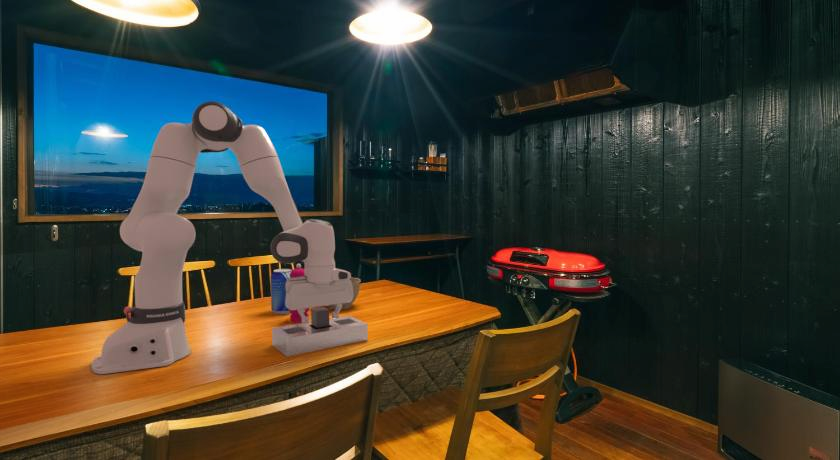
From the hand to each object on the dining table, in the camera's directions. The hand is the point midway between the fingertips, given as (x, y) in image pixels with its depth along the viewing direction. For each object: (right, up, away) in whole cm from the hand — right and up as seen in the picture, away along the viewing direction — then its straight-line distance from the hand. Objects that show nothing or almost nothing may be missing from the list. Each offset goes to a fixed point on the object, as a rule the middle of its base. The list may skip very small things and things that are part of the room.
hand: (320, 320), depth 134 cm
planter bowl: (-2, -4, +44) cm, 45 cm away
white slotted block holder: (0, -7, 0) cm, 7 cm away
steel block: (0, -7, +1) cm, 7 cm away
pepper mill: (-13, -5, +26) cm, 29 cm away
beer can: (-22, -4, +36) cm, 43 cm away
